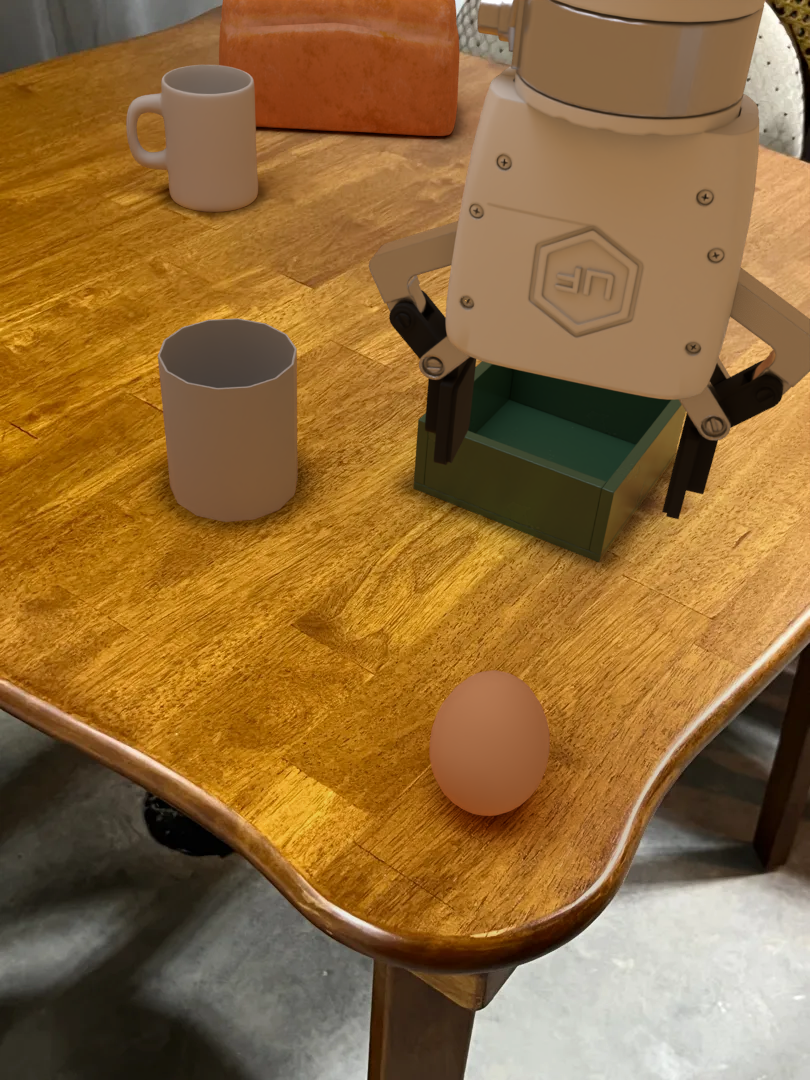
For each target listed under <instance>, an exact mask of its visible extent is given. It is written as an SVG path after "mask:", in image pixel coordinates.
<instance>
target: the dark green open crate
mask: <svg viewBox="0 0 810 1080" xmlns="http://www.w3.org/2000/svg"><path fill="white" fill-rule="evenodd" d="M686 414H687V412H686V410H685V409H684V407H683V406H682V404H681V402H680V401H679V399H657V398H651V397H645V396H640V395H634V394H629V393H624V392H619V391H614V390H610V389H605V388H600V387H595V386H590V385H586V384H581V383H576V382H571V381H567V380H562V379H557V378H553V377H548V376H543V375H539V374H534V373H530V372H525V371H520V370H516V369H512V368H507V367H503V366H499V365H494V364H491V363H487V362H483V361H480V362H479V363H478V364H476V367H475V377H474V386H473V395H472V405H471V414H470V423H469V428H468V432H467V434H466V436H465V438H464V439H463V441H462V443H461V445H460V447H459V449H458V451H457V453H456V455H455V457H454V459H453V461H452V463H449V462H448V463H447V465H443V464H439V463H435V462H434V449H435V437H436V434H435V433H431V432H427V431H425V418H426V412H425V413H424V414H423V415H422V416H421V417H419V418H418V419H417V430H416V431H417V433H416V443H415V444H416V445H415V446H416V447H415V458H414V459H415V461H414V475H413V487H412V488H413V489H414V490H416V491H419V492H421V493H423V494H425V495H429V496H431V497H433V498H436V499H439V500H441V501H444V502H447V503H449V504H451V505H454V506H456V507H459V508H461V509H463V510H466V511H468V512H471V513H473V514H477V515H479V516H481V517H484V518H486V519H489V520H492V521H494V522H497V523H499V524H501V525H504V526H506V527H509V528H511V529H514V530H516V531H519V532H520V533H521V532H522V533H524V534H526V535H529V536H531V537H534V538H537V539H539V540H541V541H544V542H546V543H549V544H551V545H553V546H556V547H559V548H561V549H564V550H565V551H566V550H567V551H569V552H572V553H574V554H577V555H579V556H582V557H584V558H587V559H589V560H591V561H594V562H597V563H600V562H601V561H602V559H603V558H604V556H605V555H606V554H607V553H608V551H609V550H610V548H611V547H612V546H613V544H614V543H615V541H616V540H617V539H618V537H619V536H620V535H621V533H622V531H624V530H625V528H626V526H627V525H628V523H629V522H631V521H630V520H632V518H633V516H634V515H635V514H636V513H637V512H638V509H640V507H641V505H642V504H643V503H644V501H645V500H646V498H647V497H648V496H649V494H650V493H651V492H652V490H653V489H654V488H655V486H656V485H657V483H658V482H659V481H660V479H661V478H662V476H663V475H664V474H665V473H666V471H667V470H668V468H669V467H670V466H671V464H672V463H673V461H675V458H676V454H677V450H678V446H679V442H680V438H681V434H682V430H683V426H684V422H685V418H686Z"/></svg>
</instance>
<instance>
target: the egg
mask: <svg viewBox="0 0 810 1080" xmlns="http://www.w3.org/2000/svg"><path fill="white" fill-rule="evenodd" d="M547 719H548V718H547V716H546V714H545V711H544V708H543V707H542V704H541V701H540V700H539V699H538V697H537V696H536V694H535V693H534V691H533V690H532V689H531V687H530V686H529V685H528V684H527V683H526V682H525V681H524V680H523V679H521V678H519V677H518V676H516V675H515V674H512V673H510V672H505V671H501V670H496V669H493V670H485V671H484V670H483V671H479V672H476V673H474V674H472V675H470V676H468V677H467V678H466V679H464V680H463V681H462V682H460V683H459V684H458V685H456V686H455V687H453V690H452V691H451V692H450V693H449V694H448V696H446V698H445V699H444V701H443V702H442V703H441V705H440V707H439V709H438V710H437V713H436V716H435V719H434V721H433V724H432V727H431V732H430V738H429V755H428V757H429V762H430V765H431V771H432V774H433V776H434V779H435V781H436V783H437V785H438V787H439V788H440V790H441V792H442V793H443V795H445V796H446V798H447V799H448V800H449V801H451V803H452V804H454V805H455V806H457V807H458V808H460V809H462V810H463V811H465V812H467V813H470V814H472V815H476V816H484V817H492V816H498V815H502V814H506V813H508V812H512V811H513V810H515V809H516V808H519V807H520V806H521V805H523V804H524V803H525V802H526V801H527V800H529V799H530V798H531V797H532V796H533V794H534V793H535V792H536V790H537V789H538V788H539V786H540V784H541V782H542V780H543V778H544V776H545V772H546V770H547V766H548V762H549V757H550V745H551V744H550V743H551V739H550V738H551V737H550V736H551V735H550V728H549V724H548V720H547Z"/></svg>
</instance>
